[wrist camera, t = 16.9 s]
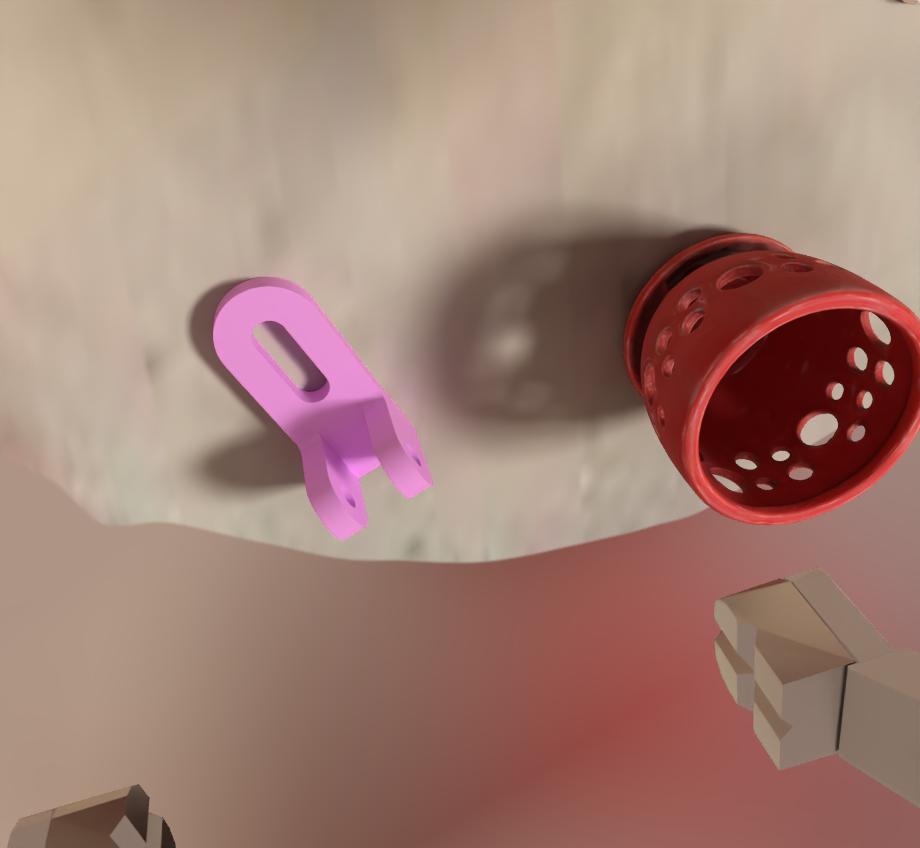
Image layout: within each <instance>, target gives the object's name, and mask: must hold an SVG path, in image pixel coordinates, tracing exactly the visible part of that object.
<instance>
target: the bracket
mask: <svg viewBox="0 0 920 848" xmlns="http://www.w3.org/2000/svg"><path fill="white" fill-rule="evenodd" d="M264 321H275V322H278V323H280V324H281V325H283V326H284V327H285V329H286V330H287V331H288V332H289V333H290V335H291V336H292V337H293V338H294V339H295V341H296V342H297V343H298V344H299V345H300V347H301V348H302V349H303V350H304V352H305V353H306V354H307V355H308V356H309V358H310V359H311V360H312V361H313V362H314V364H315V365H316V366H317V367H318V368H319V370H320V371H321V372H322V373H323V375H324V376H325V377H326V378H327V382H326V384H325V385H324V386H323V387H322V388H321V389H319V390H317V391H312V392H307V391H303V390H301V389H300V388H298V387H297V386H296V385H295V383H294V382H293V381H292V380H291V379H290V378H289V376H288V375H287V374H286V373H285V372H284V371H283V369H282V368H281V367H280V366H279V365H278V364H277V362H276V361H275V360H274V359H273V358H272V357H271V355H270V354H269V353H268V352H267V351H266V350H265V349H264V347H263V346H262V345H261V344H260V343H259V342H258V340H257V339H256V338H255V337H254V336H253V334H252V331H253V329H254V328H255V327H256V326H257V325H258V324H259V323H261V322H264ZM213 341H214V347H215V350H216V353H217V355H218V357H219V359H220V360H221V362H222V363H223V364H224V366H225V367H226V368H227V369H228V370H229V371H230V372H231V373H232V374H233V376H234V377H235V378H236V379H237V380H238V381H239V382H240V383H241V384H242V385H243V387H244V388H245V389H246V390H247V391H248V392H249V393H250V394H251V395H252V396H253V398H254V399H255V400H256V401H257V402H258V403H259V404H260V405H261V406H262V407H263V409H264V410H265V411H266V412H267V413H268V414H269V415H270V416H271V417H272V418H273V420H274V421H275V422H276V423H277V424H278V425H279V426H280V427H281V428H282V429H283V430H284V432H285V433H286V434H287V435H288V436H289V437H290V438H291V439H292V440H293V441H294V443H295V444H296V445H297V446H298V448H299V450H300V452H301V455H302V463H303V470H304V478H305V485H306V491H307V495H308V498H309V500H310V502H311V505H312V507H313V508H314V510H315V512H316V514H317V515H318V517H319V518H320V520H321V521H322V523H323V524H324V525H325V527H326V528H327V529H328V530H329V531H330V532H331V533H332V534H333V535H334V536H335V537H337V538H338V539H340V540H345V539H347V538H348V537H350V536H352V535H353V534H355V533H356V532H358V531H360V530H361V529H363V528H364V527H366V526H367V525H368V518H367V513H366V509H365V504H364V500H363V496H362V491H361V487H360V482H359V478H361V477H362V476H364V475H365V474H367V473H369V472H370V471H372V470H373V469H375V468H376V467H378V466H380V465H381V466H382V467H383V469H384V471H385V472H386V474H387V475H388V477H389V478H390V480H391V481H392V483H393V484H394V485H395V487H396V488H397V489H398V490H399V491H400V492H401V493H402V494H403V495H404V496H405V497H406V498H408V499H411V498H412V497H414V496H416V495H417V494H419V493H420V492H422V491H424V490H425V489H427V488H428V487H430V486H432V485H433V479H432V476H431V473H430V470H429V468H428V465H427V462H426V459H425V456H424V453H423V450H422V447H421V445H420V442H419V439H418V436H417V433H416V430H415V428H414V427H413V426H412V425H411V423H410V422H409V421H408V419H407V418H406V417H405V416H404V414H403V413H402V412H401V410H400V409H399V408H398V407H397V405H396V404H395V403H394V401H393V400H392V399H391V398H390V396H389V395H388V394H387V393H386V391H385V390H384V389H383V387H382V386H381V385H380V384H379V382H378V381H377V380H376V378H375V377H374V376H373V375H372V373H371V372H370V371H369V369H368V368H367V367H366V366H365V364H364V363H363V362H362V361H361V359H360V358H359V357H358V355H357V354H356V353H355V352H354V350H353V349H352V348H351V346H350V345H349V344H348V343H347V341H346V340H345V339H344V337H343V336H342V335H341V334H340V332H339V331H338V330H337V329H336V327H335V326H334V325H333V323H332V322H331V321H330V320H329V318H328V317H327V316H326V314H325V313H324V312H323V311H322V309H321V308H320V307H319V306H318V304H317V303H316V302H315V300H314V299H313V298H312V297H311V296H310V294H309V293H308V292H306V291H305V290H304V289H303V288H301V287H300V286H298V285H297V284H295V283H293V282H291V281H288V280H285V279H281V278H275V277H259V278H254V279H250V280H247V281H244V282H242V283H240V284H238V285H237V286H235V287H234V288H232V289H231V290H230V291H229V292H228V293H227V294H226V295H225V296H224V297H223V298H222V300H221V301H220V303H219V305H218V307H217V309H216V312H215V315H214V323H213Z"/></svg>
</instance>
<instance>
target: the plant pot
mask: <svg viewBox="0 0 920 848" xmlns="http://www.w3.org/2000/svg"><path fill="white" fill-rule="evenodd" d="M869 312H872V313H874V314H875V315H876V316H878V317H879V318H880V319H881V320H882V321H883V322H884V323H885V325H886V326H887V328H888V330H889V332H890V336H891V342H890V343H889V345H888V344H885V343H883V342H882V341H881V340H880V339H878V337H877V336H876V334H875V333H874V331H873V330H872V327H871V324H870V320H869ZM857 347H859V348H861V349H862V350H863V351H864V352H865V353H866V355H867V358H868V362H867V367H866V369H865V370H864V371H863V370H860V369H859V368H858V367H857V366H856V364H855V361H854V351H855V349H856V348H857ZM623 353H624V361H625V366H626V370H627V373H628V375H629V378H630V380H631V382H632V384H633V385H634V387H635V388H636V390H637V391H638V393H639V394H640V395H641V396H642V397H643V398H644V401H645V405H646V409H647V412H648V415H649V418H650V420H651V423H652V425H653V428H654V430H655V432H656V434H657V436H658V438H659V440H660V442H661V444H662V446H663V447H664V449H665V451H666V453H667V454H668V456H669V458H670V459H671V461H672V462H673V464H674V465H675V467H676V468H677V470H678V471H679V472H680V474H681V475H682V477H683V478H684V479H685V481H686V482H687V483H688V484H689V486H690V487H691V488H692V489H693V491H694V492H695V493H696V494H697V495H698V497H699V498H700V499H701V500H702V501H703V502H704V503H705V504H706V505H708V506H709V507H710V508H712V509H713V510H715V511H716V512H718V513H720V514H721V515H724V516H725V517H728V518H731V519H733V520H737V521H740V522H743V523H748V524H756V525H757V524H758V525H760V524H761V525H780V524H788V523H794V522H798V521H802V520H806V519H810V518H813V517H816V516H819V515H821V514H824V513H826V512H828V511H830V510H833V509H835V508H837V507H839V506H841V505H843V504H845V503H847V502H849V501H850V500H852V499H854V498H855V497H857V496H859V495H860V494H861V493H863V492H864V491H866V490H867V489H869V488H870V487H871V486H872V485H873V484H875V483H876V482H877V481H878V480H879V479H880V478H881V477H882V476H883V475H885V473H886V472H887V471H888V470H889V469H890V468H891V467H892V466H893V465H894V464H895V463H896V462H897V460H898V459H899V458H900V457H901V456H902V454H903V453H904V452H905V451H906V449H907V448H908V446H909V445H910V443H911V442H912V440H913V439H914V437H915V436H916V434H917V432H918V430H919V429H920V320H919V319H918V317H917V316H916V315H915V314H914V313H913V312H912V311H911V310H910V309H909V308H908V307H907V306H905V305H904V304H903V303H902V302H900V301H899V300H897V299H896V298H895V297H893V296H892V295H890V294H888V293H887V292H885V291H884V290H882V289H881V288H879V287H877V286H876V285H874V284H872V283H870V282H869V281H867V280H865V279H863V278H862V277H860V276H858V275H856V274H854V273H852V272H850V271H848V270H846V269H843V268H841V267H839V266H836V265H834V264H831V263H829V262H826V261H823V260H820V259H817V258H814V257H810V256H806V255H802V254H797V253H794V252H793V251H792V250H791V249H790V248H788V247H787V246H785V245H784V244H782V243H780V242H778V241H776V240H774V239H771V238H768V237H765V236H761V235H757V234H748V233H735V234H726V235H721V236H716V237H713V238H709V239H707V240H704V241H702V242H699V243H697V244H695V245H692V246H691V247H689V248H687V249H685V250H683V251H682V252H680V253H679V254H677V255H676V256H674V257H673V258H672V259H670V260H669V261H668V262H666V263H665V264H664V265H663V266H662V267H661V268H660V269H659V270H658V271H657V272H656V273H655V274H654V275H653V276H652V277H651V278H650V279H649V281H648V282H647V284H646V285H645V286H644V288H643V289H642V291H641V292H640V294H639V295H638V297H637V299H636V301H635V303H634V304H633V307H632V309H631V311H630V314H629V316H628V320H627V323H626V327H625V332H624V342H623ZM885 361H886V362H888V363H889V364H890V365H891V366H892V368H893V370H894V380H893V382H892V384H891V385H888V384H887V383H886V381H885V380H884V377H883V365H884V363H885ZM838 383H840V384H842V385H843V388H844V391H843V394H842V397H841V398H840V399H838V400H834V399H833V398H832V390H833V388H834V386H835V385H836V384H838ZM868 391H869V392H870V393H871V395H872V398H873V401H872V404H871V406H870V407H869V408H867V409H865V408H864V407H863V404H862V400H863V396H864V395H865V393H866V392H868ZM827 413H829V414H832V415H833V416H834V417H835V418H836V419H837V421H838V428H837V430H836V432H835V434H834V436H833V437H832V438H831V439H830V440H829V441H828V442H827V443H826V444H823V445H819V446H811V445H807V444H805V443H803V441H802V440H801V437H800V434H801V430H802V428H803V427H804V425H805V424H806V423H807V421H809V420H810V419H811V418H813V417H814V416H817V415H819V414H827ZM861 425H862V426H864V428H865V435H864V437H863V438H862V439H861V440H859V441H857V442H853V441H852V439H851V435H852V432H853V430H854V429H855V428H857V427H858V426H861ZM778 451H787V452H788V453H789V454H790V456H789V458H788V459H786V460H784V461H776V460H774V459H773V458H772V455H773V454H774V453H775V452H778ZM738 459H746V460H750V461H752V462H754V463H755V464H756V466H757V468H755V469H753V470H747V469H744V468H742V467H740V466H738V465H737V464H736V462H735V460H738ZM803 467H804V468H809V469H811V470H813V473H812V476H811V477H810V478H808V479H805V480H795V479H792V478H790V477H789V474H790V473H791V472H792V471H793V470H795V469H798V468H803ZM712 474H715V475H719V476H722V477H724V478H727V479H729V480H731V481H732V482H734V483H735V484H737V485H738V486H739V487H740V488H741V489H742V491H743V493H738V492H734V491H731V490H729V489H728V488H726V487H725V486H724V485H723V484H721V483H720V482H719V481H717V480H716V478H715V477H714V476H713V475H712ZM757 484H766V485H769V486H771V487H772V488H773V489H772V490H764V489H761V488H759V487H757Z"/></svg>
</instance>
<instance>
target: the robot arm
mask: <svg viewBox="0 0 920 848" xmlns="http://www.w3.org/2000/svg"><path fill="white" fill-rule="evenodd" d="M902 1H904V2H905V3H908V4H920V0H902ZM714 619H715V620H716V622H717V623H718V625H719V626H720V628H721V629H722V631H721V632H720V633H719V635H718V636H717V638H716V639H715V649H716V658H717V661H718V665H719V668H720V672H721V675H722V677H723V679H724V681H725V683H726V685H727V688H728V690H729V691H730V693H731V694H732V696H733V698H734V700H735V701H736V703H737V704H738V705H740V706H742V707H744V708H746V709H748V710H750V711H752V712H753V713H754V732H755V733H756V735H757V736H758V738H759V740H760V741H761V743H762V744H763V746H764V747H765V749H766V751H767V752H768V754H769V755H770V757H771V759H772V760H773V762H774V763H775V765H776V766H777V768H778V770H779V771H780V770H783V769H787V768H790V767H793V766H796V765H799V764H803V763H806V762H809V761H813V760H816V759H819V758H823V757H826V756H829V755H832V754H835V753H838V756H839V757H840V758H842V759H843V760H845V761H846V762H848V763H849V764H851V765H853V766H854V767H856V768H857V769H859V770H861V771H862V772H864V773H865V774H867V775H868V776H870V777H872V778H873V779H875V780H876V781H878V782H879V783H881V784H882V785H884V786H885V787H887V788H889V789H890V790H892V791H894V792H895V793H897V794H898V795H900V796H902V797H903V798H904V799H906V800H907V801H909V802H911V803H912V804H914V805H916V806H917V807H919V808H920V654H919V653H917V652H914V651H912V650H910V649H907V648H902V649H898V650H894V649H893V648H892V647H891V645H890V644H889V643H888V642H887V641H886V640H885V639H884V638H883V636H882V635H881V634H880V633H879V632H878V631H877V630H876V629H875V627H874V626H873V625H872V624H871V623H870V622H869V621H868V619H867V618H866V617H865V616H864V615H863V614H862V613H861V612H860V610H859V609H858V608H857V607H856V606H855V605H854V604H853V603H852V602H851V600H850V599H849V598H848V597H847V596H846V595H845V593H843V591H842V590H841V589H840V588H839V587H838V586H837V584H836V583H835V582H834V581H833V580H832V579H831V578H830V577H829V576H828V574H827V573H826V572H825V571H823V570H821V569H819V568H814V569H811V570H808V571H805V572H802V573H798V574H795V575H792V576H789V577H786V578H784V579H777V580H774V581H771V582H768V583H765V584H762V585H759V586H756V587H753V588H750V589H747V590H744V591H741V592H738V593H735V594H732V595H729V596H726V597H723V598H720V599H717V601H716V604H715V605H714ZM7 848H176V844H175V841H174V838H173V835H172V833H171V831H170V828H169V826H168V824H167V823H166V821H165V820H164V819H163V817H161V816H158V815H155V814H152V813H149V796H148V795H147V794H146V793H145V791H144V790H143V789H142V787H141V786H140V785H139V784H137V785H134V786H130V787H126V788H123V789H119V790H116V791H112V792H109V793H105V794H102V795H98V796H95V797H91V798H88V799H85V800H81V801H78V802H74V803H71V804H68V805H64V806H60V807H57V808H54V809H51V810H47V811H44V812H41V813H38V814H34V815H31V816H27V817H24V818H21V819H19V820H18V822H17V823H16V825H15V827H14V828H13V830H12V832H11V834H10V838H9V842H8V846H7Z"/></svg>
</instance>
